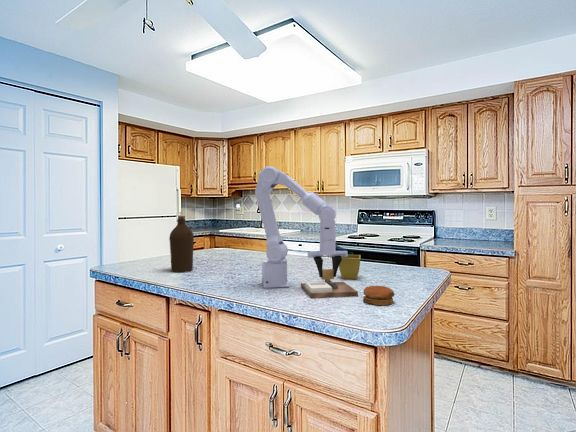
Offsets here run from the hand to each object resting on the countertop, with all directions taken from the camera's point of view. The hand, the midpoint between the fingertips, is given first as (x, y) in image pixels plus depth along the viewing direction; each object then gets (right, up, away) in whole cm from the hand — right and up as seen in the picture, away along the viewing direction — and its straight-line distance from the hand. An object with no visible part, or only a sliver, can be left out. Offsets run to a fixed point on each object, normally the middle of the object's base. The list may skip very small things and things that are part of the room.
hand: (327, 276), depth 130 cm
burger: (+14, -5, -18) cm, 23 cm away
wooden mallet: (+1, -2, -4) cm, 5 cm away
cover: (-4, -3, -8) cm, 10 cm away
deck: (-1, -4, -6) cm, 7 cm away
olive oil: (-63, -3, +34) cm, 71 cm away
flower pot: (+11, -4, +17) cm, 20 cm away
